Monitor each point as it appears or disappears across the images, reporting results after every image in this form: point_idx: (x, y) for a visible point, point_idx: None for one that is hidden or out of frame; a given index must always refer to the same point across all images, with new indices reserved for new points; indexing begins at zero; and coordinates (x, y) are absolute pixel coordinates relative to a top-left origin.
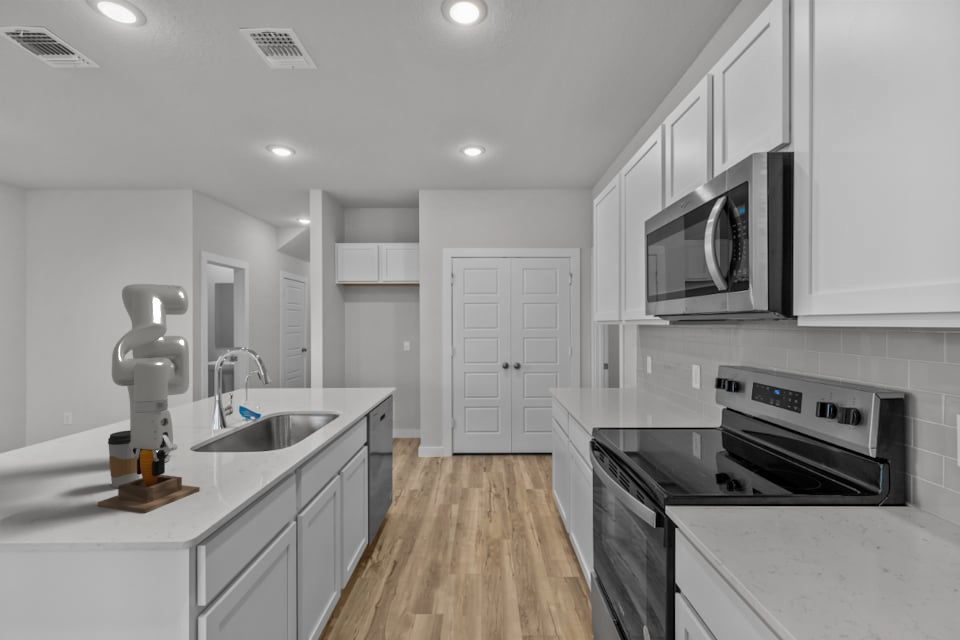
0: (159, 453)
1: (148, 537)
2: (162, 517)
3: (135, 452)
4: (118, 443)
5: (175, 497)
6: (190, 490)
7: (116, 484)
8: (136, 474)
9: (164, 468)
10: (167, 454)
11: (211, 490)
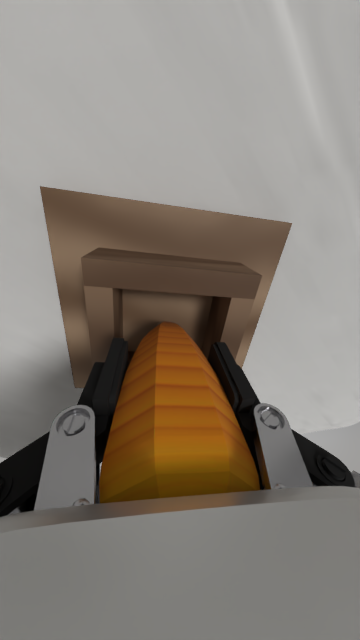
0: (250, 460)
1: (301, 432)
2: (281, 386)
3: (30, 498)
4: None
5: (257, 318)
6: (275, 262)
7: None
8: None
9: (230, 354)
10: (323, 455)
11: (325, 208)
